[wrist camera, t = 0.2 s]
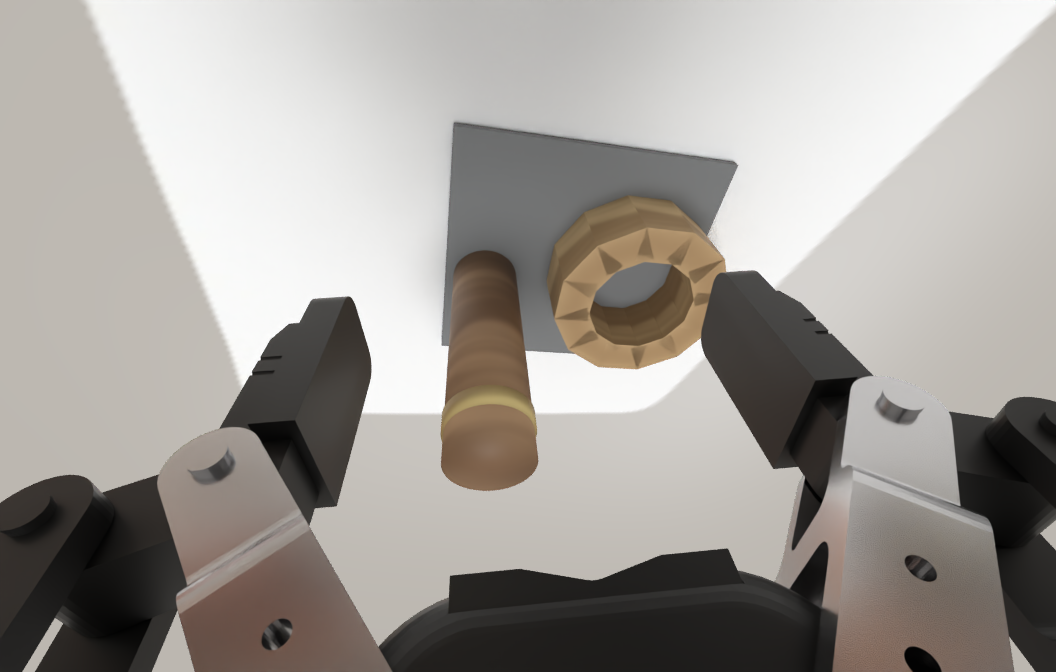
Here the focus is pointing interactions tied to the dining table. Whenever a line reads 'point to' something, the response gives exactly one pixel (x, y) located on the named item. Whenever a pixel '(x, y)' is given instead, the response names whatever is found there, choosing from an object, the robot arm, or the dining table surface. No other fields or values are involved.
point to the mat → (561, 210)
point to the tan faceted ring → (620, 243)
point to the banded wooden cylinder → (487, 380)
